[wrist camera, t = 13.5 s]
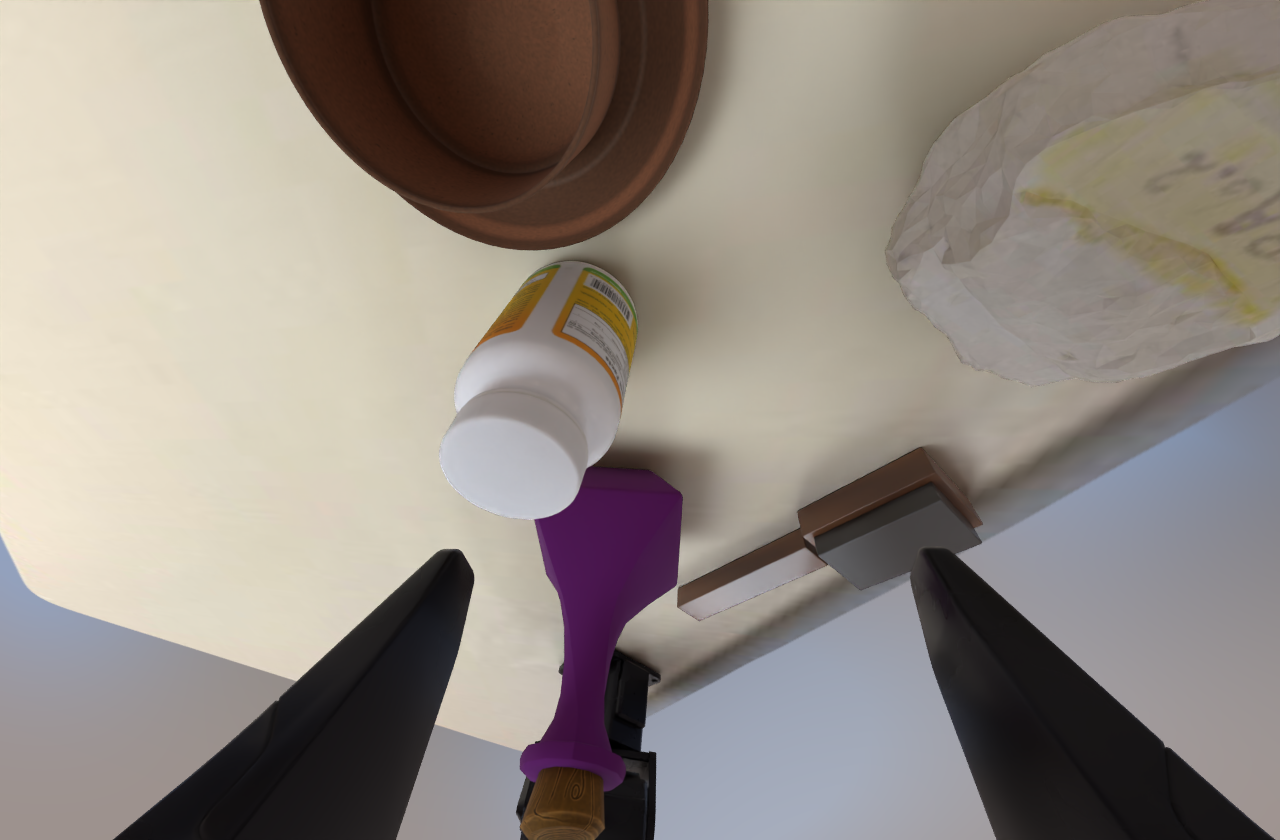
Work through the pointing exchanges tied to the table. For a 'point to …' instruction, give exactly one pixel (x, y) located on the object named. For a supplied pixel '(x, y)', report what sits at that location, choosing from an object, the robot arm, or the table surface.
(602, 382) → the supplement bottle
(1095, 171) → the fossil replica
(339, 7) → the cup and saucer
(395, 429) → the table surface
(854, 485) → the hairbrush
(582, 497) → the perfume bottle
